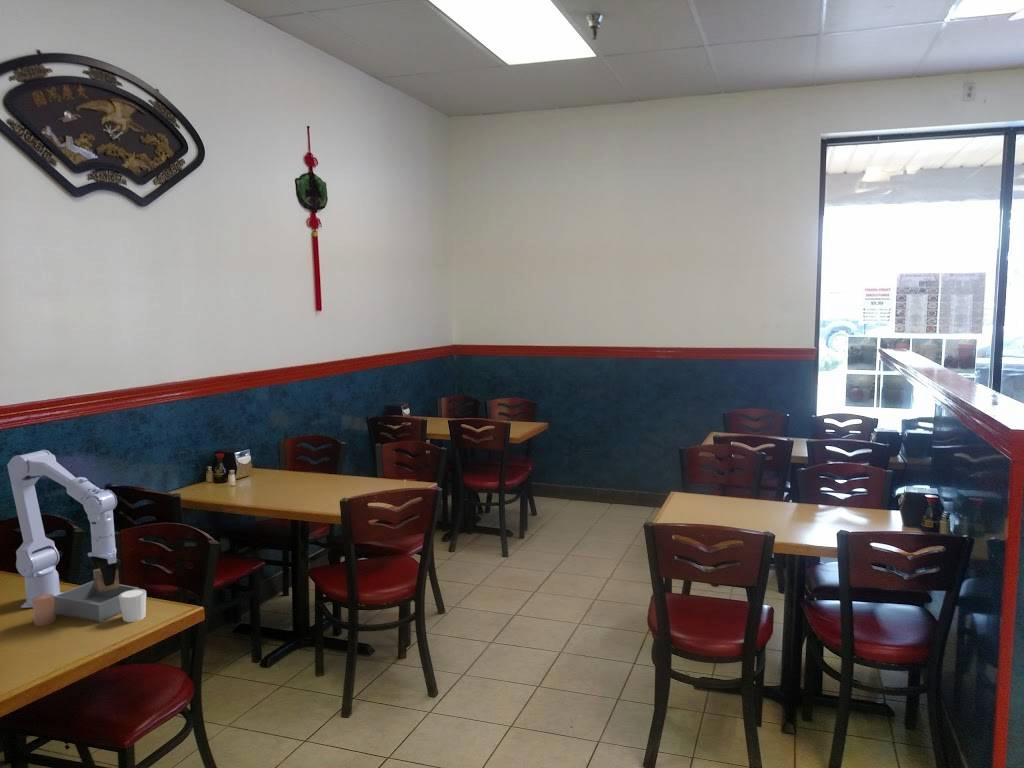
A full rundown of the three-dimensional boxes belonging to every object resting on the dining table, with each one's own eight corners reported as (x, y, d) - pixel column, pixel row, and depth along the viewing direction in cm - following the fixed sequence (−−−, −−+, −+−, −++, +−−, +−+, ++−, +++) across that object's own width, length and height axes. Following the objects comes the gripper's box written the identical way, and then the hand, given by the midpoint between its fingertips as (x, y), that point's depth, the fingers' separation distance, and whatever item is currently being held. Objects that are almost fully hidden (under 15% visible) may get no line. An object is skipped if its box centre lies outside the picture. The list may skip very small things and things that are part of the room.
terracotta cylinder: (39, 619, 210) (37, 594, 210) (58, 617, 211) (56, 593, 210) (31, 626, 206) (28, 601, 205) (51, 625, 206) (49, 600, 206)
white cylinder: (114, 620, 209) (112, 595, 208) (137, 611, 215) (135, 587, 214) (131, 625, 206) (129, 599, 205) (153, 615, 212) (151, 591, 211)
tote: (55, 613, 214) (53, 596, 213) (96, 596, 226) (95, 579, 225) (99, 622, 207) (98, 604, 207) (139, 604, 220) (138, 587, 219)
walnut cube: (94, 587, 215) (93, 570, 214) (113, 582, 218) (112, 565, 217) (99, 592, 211) (98, 574, 210) (119, 587, 214) (118, 569, 214)
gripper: (79, 532, 215) (83, 579, 217) (94, 544, 205) (98, 593, 206) (106, 527, 220) (110, 572, 222) (123, 538, 210) (126, 586, 211)
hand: (106, 582), depth 214 cm, fingers closed on walnut cube, 5 cm apart
